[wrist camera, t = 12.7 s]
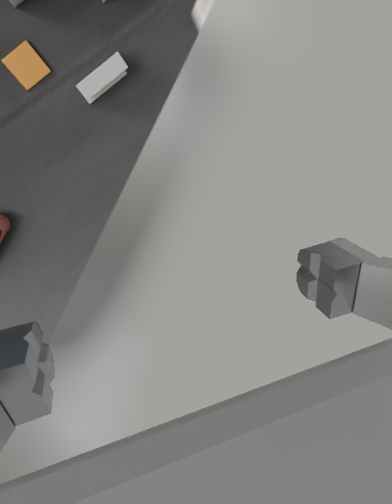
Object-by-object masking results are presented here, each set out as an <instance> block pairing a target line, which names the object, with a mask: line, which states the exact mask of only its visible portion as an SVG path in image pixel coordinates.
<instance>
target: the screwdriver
mask: <svg viewBox="0 0 392 504" xmlns="http://www.w3.org/2000/svg"><path fill="white" fill-rule="evenodd" d="M9 228H10V222H9V219H8V218H7V217H6V216H4V215H1V214H0V247H1V245H2V243H3V241H4V239H5V237H6V235H7V233H8V231H9Z"/></svg>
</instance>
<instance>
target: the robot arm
mask: <svg viewBox="0 0 392 504" xmlns="http://www.w3.org/2000/svg"><path fill="white" fill-rule="evenodd" d="M298 262H299V264H300V265H301V267H300V268H299V270H298V272H297V284H298V287H299V290H300V291H301V293H302V294H303V295H304V296H305V297H306V298H307V299H310V300H313V301H316V307H317V308H318V309H319V310H320V311H321V312H322V313H323V314H325V315H326V316H327V317H328V318H329V319H331V318H335V317H338V316H341V315H344V314H348V313H351V312H353V314H356V315H358V316H361V317H363V318H365V319H368V320H370V321H373V322H375V323H377V324H380V325H382V326H385V327H387V328H390V329H392V258H389V257H380V258H379V257H377V256H376V255H374V254H372V253H370V252H368V251H366V250H365V249H363V248H361V247H359V246H357V245H356V244H354V243H352V242H350V241H348V240H347V239H345V238H337V239H334V240H331V241H328V242H325V243H322V244H318V245H315V246H312V247H308V248H305V249H301V250H300V251H299V253H298ZM42 335H43V332H42V330H41V328H40V326H39V324H38V323H37V322H31V323H27V324H23V325H19V326H15V327H11V328H7V329H3V330H0V451H1V450H2V448H3V447H4V445H5V444H6V442H7V440H8V439H9V437H10V436H11V435H12V433H13V431H14V430H15V426H18V425H20V424H23V423H26V422H29V421H31V420H34V419H36V418H39V417H42V416H45V415H48V414H50V413H51V408H52V397H53V391H52V389H51V387H50V383H51V382H52V380H53V379H54V372H55V368H54V360H53V356H52V353H51V350H50V348H49V345H48V344H46V343H44V342H42ZM0 504H392V338H391V339H388V340H385V341H383V342H380V343H377V344H375V345H372V346H369V347H367V348H364V349H361V350H359V351H356V352H353V353H350V354H348V355H345V356H343V357H340V358H337V359H334V360H332V361H329V362H326V363H324V364H321V365H318V366H316V367H313V368H310V369H307V370H305V371H302V372H299V373H297V374H294V375H291V376H289V377H286V378H283V379H281V380H278V381H275V382H273V383H270V384H267V385H265V386H262V387H259V388H257V389H254V390H251V391H249V392H246V393H244V394H241V395H238V396H235V397H233V398H230V399H227V400H225V401H222V402H219V403H217V404H214V405H211V406H209V407H206V408H203V409H201V410H198V411H196V412H193V413H190V414H188V415H185V416H182V417H180V418H177V419H174V420H171V421H169V422H166V423H163V424H161V425H158V426H156V427H153V428H150V429H147V430H145V431H142V432H139V433H137V434H134V435H132V436H129V437H126V438H123V439H120V440H118V441H115V442H112V443H110V444H107V445H104V446H102V447H99V448H97V449H94V450H91V451H88V452H86V453H83V454H80V455H78V456H75V457H72V458H70V459H67V460H64V461H62V462H59V463H56V464H54V465H51V466H48V467H46V468H43V469H40V470H38V471H35V472H33V473H30V474H27V475H24V476H22V477H19V478H16V479H14V480H11V481H8V482H6V483H3V484H0Z"/></svg>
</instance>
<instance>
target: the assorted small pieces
mask: <svg viewBox="0 0 392 504" xmlns="http://www.w3.org/2000/svg"><path fill="white" fill-rule="evenodd" d="M8 1H9V2H10V3H11V4H12V6H13V7H14V8H16V7H17V6H18V5H19V4H20V3H22V2H23V1H24V0H8ZM106 1H107V0H102V2H103V4H104V3H105V2H106ZM1 61H2V62H3V63H4V64H5V66H6V67H7V68H8V69H9V70H10V71H11V72H12V74H13V75H14V76H15V77H16V78H17V79H18V80H19V82H20V83H21V84H22V85H23V86H24V87H25V88H26V89H27V90H29V89H30V88H31V87H33V86H34V85H35V84H36V83H37V82H39V81H40V80H41V79H42V78H44V77H45V76H46V75H47V74H48V73H50V72H51V70H50V69H49V68H48V67H47V65H46V64H45V63H44V62H43V61H42V59H41V58H40V57H39V56H38V54H37V53H36V52H35V51H34V49H33V48H32V47H31V46H30V44H29V43H28V42H27V41H26V40H25V41H24V42H23V43H22V44H20V45H19V46H18V47H17V48H16V49H14V50H13V51H12V52H11V53H9V54H8V55H7V56H6V57H5V58H3V59H2V60H1ZM127 68H128V66H127V65H126V63H125V62H124V60H123V59H122V57H121V56H120V54H119V53H118V52H116V53H115V54H114V55H113V56H111V57H110V58H109V59H108V60H107V61H105V62H104V63H103V64H102V65H100V66H99V67H98V68H97V69H95V70H94V71H93V72H92V73H91V74H89V75H88V76H87V77H86V78H84V79H83V80H82V81H81V82H79V83H78V84H77V85H76V87H77V88H78V90H79V91H80V92H81V94H82V95H83V96H84V97H85V99H86V100H87V101H88V102H89V104H90V103H92V102H93V101H94V100H95V99H97V98H98V97H99V96H100V95H102V94H103V93H104V92H105V91H107V90H108V89H109V88H110V87H111V86H113V85H114V84H115V83H116V82H118V81H119V80H120V79H121V78H123V77H124V76H125V75H126V74H127V73H126V71H125V69H127Z"/></svg>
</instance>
